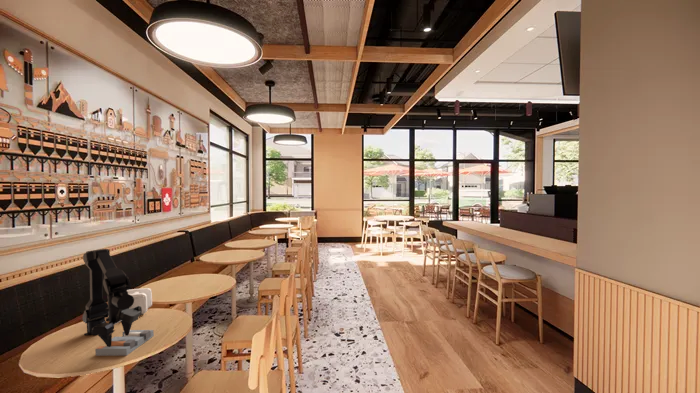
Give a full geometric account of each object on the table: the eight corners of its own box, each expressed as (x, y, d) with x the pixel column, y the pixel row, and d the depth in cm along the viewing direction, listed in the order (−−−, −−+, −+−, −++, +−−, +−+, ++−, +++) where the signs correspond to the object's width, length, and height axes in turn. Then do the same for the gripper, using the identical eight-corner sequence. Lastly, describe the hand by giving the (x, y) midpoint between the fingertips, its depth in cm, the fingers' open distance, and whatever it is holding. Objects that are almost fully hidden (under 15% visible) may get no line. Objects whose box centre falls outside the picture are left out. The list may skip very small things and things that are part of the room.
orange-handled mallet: (106, 349, 126) (106, 342, 126) (111, 346, 129) (111, 339, 129) (130, 349, 126) (130, 342, 125) (135, 345, 128) (135, 339, 128)
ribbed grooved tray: (95, 355, 123) (95, 348, 123) (125, 336, 139) (125, 329, 139) (126, 355, 123) (126, 348, 123) (153, 335, 139) (153, 329, 139)
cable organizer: (154, 307, 173) (153, 287, 172) (145, 315, 162) (144, 293, 162) (124, 310, 170) (123, 289, 169) (113, 318, 159) (112, 296, 159)
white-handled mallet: (123, 339, 134) (123, 333, 134) (128, 336, 137) (128, 330, 137) (146, 339, 134) (145, 333, 133) (150, 336, 136) (150, 330, 136)
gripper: (117, 313, 117) (119, 353, 117) (151, 295, 136) (152, 330, 136) (89, 313, 117) (91, 353, 118) (126, 295, 136) (128, 330, 136)
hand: (118, 340), depth 127 cm, fingers open, 9 cm apart
